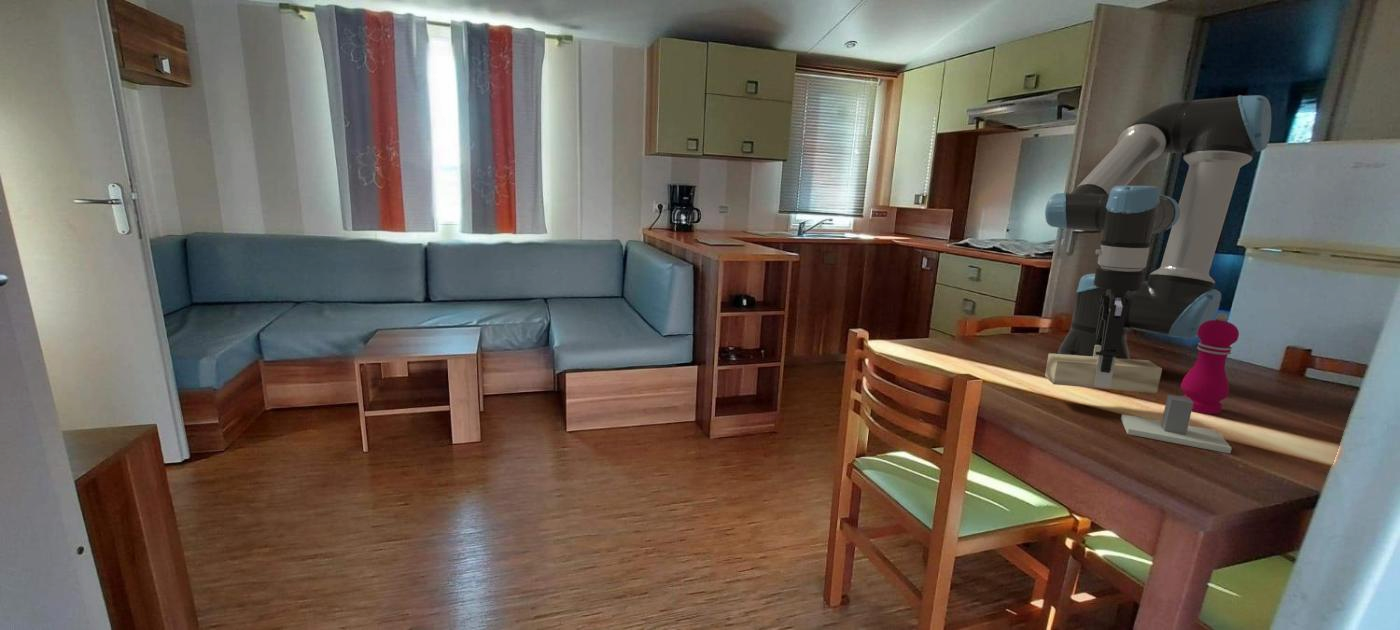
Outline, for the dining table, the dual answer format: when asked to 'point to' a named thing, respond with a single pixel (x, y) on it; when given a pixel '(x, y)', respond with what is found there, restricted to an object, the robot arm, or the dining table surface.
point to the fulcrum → (1176, 427)
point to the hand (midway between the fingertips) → (1099, 381)
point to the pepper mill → (1210, 366)
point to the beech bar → (1083, 370)
